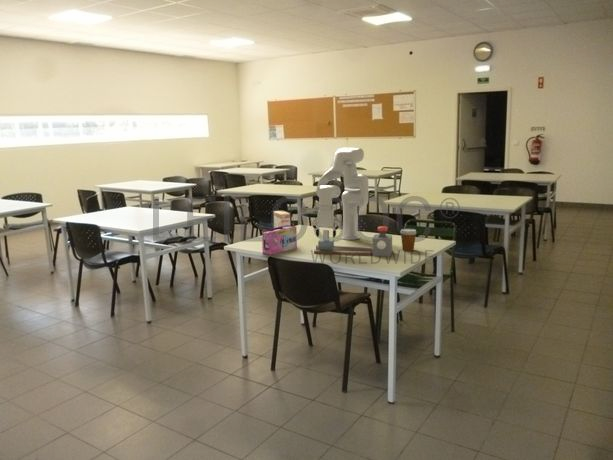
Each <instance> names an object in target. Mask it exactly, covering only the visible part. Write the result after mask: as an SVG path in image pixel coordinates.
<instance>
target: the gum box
mask: <svg viewBox="0 0 613 460" xmlns="http://www.w3.org/2000/svg"><path fill="white" fill-rule="evenodd" d="M297 231H298V230H297V226H296V225H290V226H289V225H286V226H281V227H277V228H274V227H273V228H268V229H264V230H262V231H261V233H262V237H261V238H262V240H261V241H262V243H261V244H262V248H261V249H262V253H263V254H267V255H271V256H272V255H275V254H279V253H284V252H286V251H290V250H294V249H297V248H298V241H297V240H298V239H297V238H298V237H297V233H298V232H297Z"/></svg>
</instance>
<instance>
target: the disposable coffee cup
mask: <svg viewBox="0 0 613 460" xmlns="http://www.w3.org/2000/svg"><path fill="white" fill-rule="evenodd" d="M399 233H400V237H401V245H402V251H404V250H405V252H412V251H414V250H415V249H414V248H415V244H416V243H415V242H416V238H417V237H416V235H417V230H416V229H415V228H402V229H400V232H399Z"/></svg>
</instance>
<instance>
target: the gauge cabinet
mask: <svg viewBox="0 0 613 460" xmlns="http://www.w3.org/2000/svg"><path fill="white" fill-rule="evenodd" d="M372 248H373V252H372V256H373V257H391V256H392V253H393V234H386V238H384V237H379V233H378V234H377V233H376V234H374V235H373V237H372Z"/></svg>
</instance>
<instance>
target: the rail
mask: <svg viewBox="0 0 613 460" xmlns="http://www.w3.org/2000/svg"><path fill="white" fill-rule="evenodd" d="M313 254H315V255H316V254H317V255H339V254H347V255H346V256H372V255H373V246H353V245H352V246H351V245H349V246H348V245H334V246H332V250H322V249H319V246H318V244H317V245H315V249H314V251H313Z"/></svg>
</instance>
